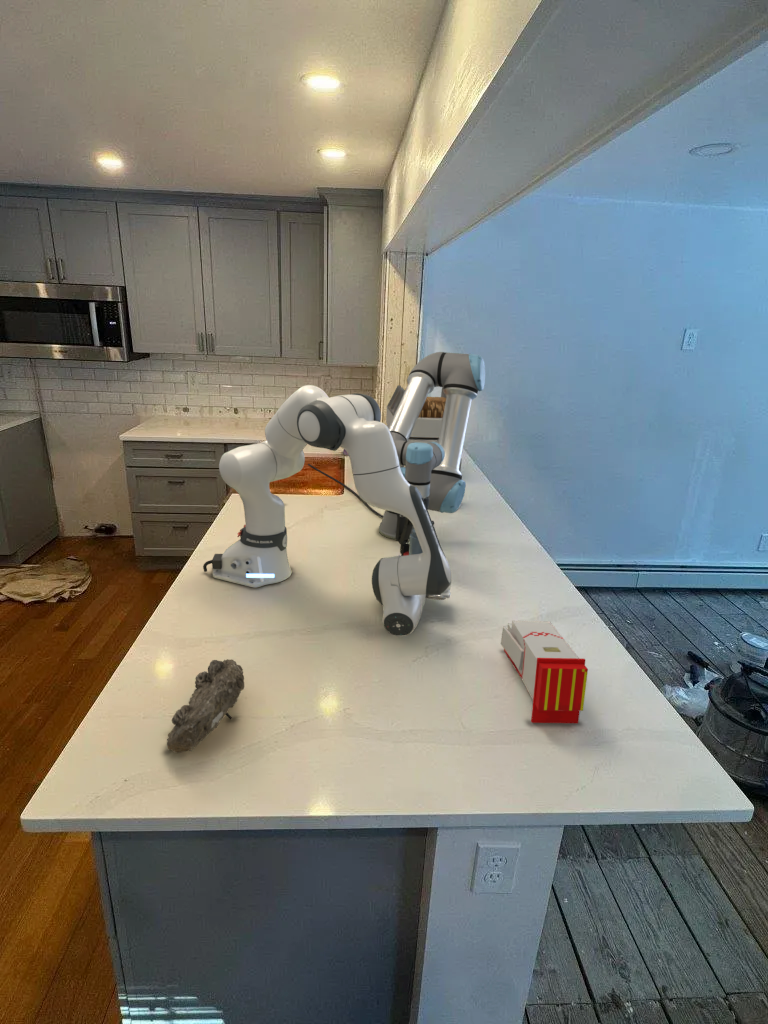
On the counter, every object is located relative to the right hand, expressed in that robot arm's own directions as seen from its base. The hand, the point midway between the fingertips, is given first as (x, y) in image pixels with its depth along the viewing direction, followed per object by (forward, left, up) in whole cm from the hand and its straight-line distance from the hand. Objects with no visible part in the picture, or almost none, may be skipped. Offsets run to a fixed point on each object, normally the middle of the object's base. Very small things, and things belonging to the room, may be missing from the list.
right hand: (411, 567), depth 174 cm
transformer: (-75, +76, 0) cm, 107 cm away
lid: (0, 0, +4) cm, 4 cm away
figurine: (-123, +71, 0) cm, 142 cm away
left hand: (+12, -10, +6) cm, 17 cm away
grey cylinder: (+13, -11, 0) cm, 17 cm away
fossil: (+26, -77, 0) cm, 81 cm away
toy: (+58, -17, 0) cm, 60 cm away
